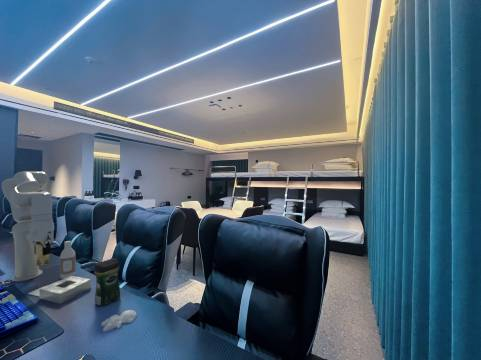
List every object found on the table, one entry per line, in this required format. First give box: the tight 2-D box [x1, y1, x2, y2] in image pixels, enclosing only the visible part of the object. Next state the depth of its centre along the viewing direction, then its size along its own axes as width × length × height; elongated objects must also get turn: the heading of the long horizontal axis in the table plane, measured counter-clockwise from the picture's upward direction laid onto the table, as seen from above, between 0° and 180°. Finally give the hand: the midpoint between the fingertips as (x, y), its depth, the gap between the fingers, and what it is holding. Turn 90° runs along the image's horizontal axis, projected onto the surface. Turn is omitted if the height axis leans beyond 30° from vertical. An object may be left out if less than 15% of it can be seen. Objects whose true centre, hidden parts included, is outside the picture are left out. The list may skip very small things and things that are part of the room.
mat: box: [27, 284, 49, 298], centre depth 106 cm, size 8×8×1 cm
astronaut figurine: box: [101, 309, 137, 333], centre depth 84 cm, size 9×12×3 cm
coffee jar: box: [93, 257, 121, 307], centre depth 97 cm, size 10×8×19 cm
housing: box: [38, 275, 92, 305], centre depth 104 cm, size 14×14×4 cm
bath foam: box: [59, 240, 77, 280], centre depth 121 cm, size 7×7×20 cm
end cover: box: [36, 241, 51, 267], centre depth 105 cm, size 5×5×10 cm
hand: (42, 253), depth 105 cm, fingers closed on end cover, 5 cm apart
